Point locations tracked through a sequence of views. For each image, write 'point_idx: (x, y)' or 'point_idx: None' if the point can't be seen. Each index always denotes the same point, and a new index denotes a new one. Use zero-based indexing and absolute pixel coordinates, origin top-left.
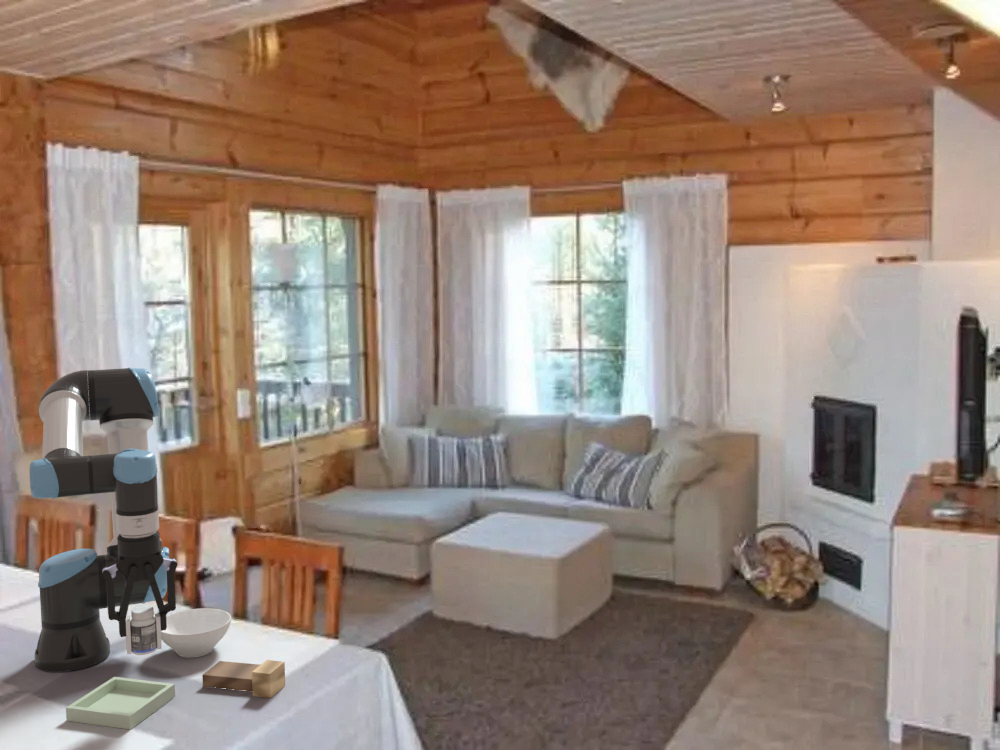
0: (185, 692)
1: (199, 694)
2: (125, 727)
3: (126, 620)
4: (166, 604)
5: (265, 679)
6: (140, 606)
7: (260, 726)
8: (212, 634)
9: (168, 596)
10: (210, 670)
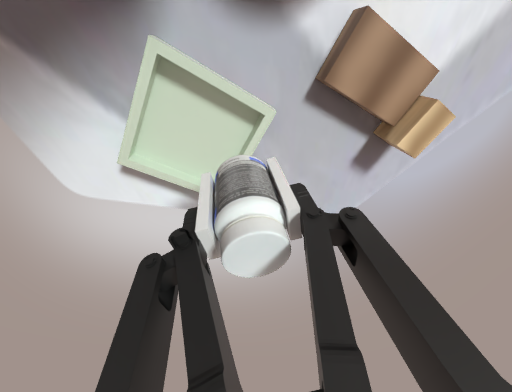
0: (287, 93)
1: (307, 108)
2: None
3: (208, 253)
4: (335, 234)
5: (403, 151)
6: (247, 240)
7: (356, 205)
8: None
9: (358, 272)
10: (340, 61)
